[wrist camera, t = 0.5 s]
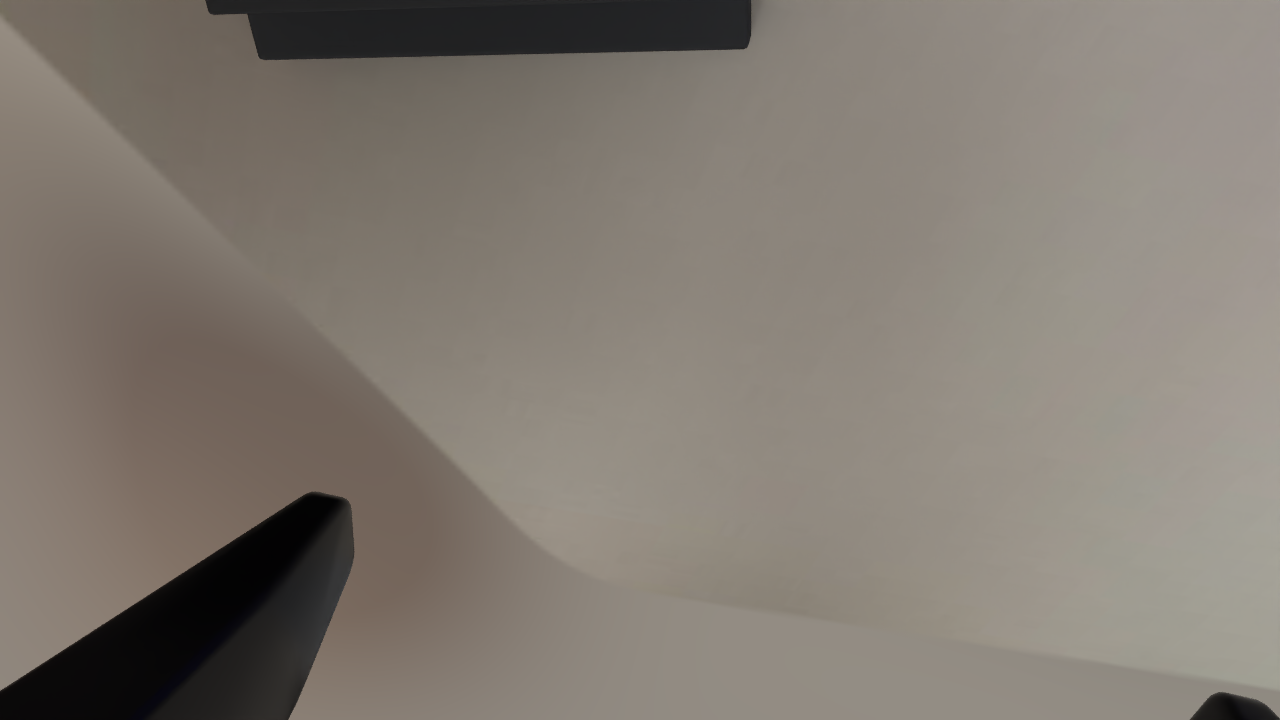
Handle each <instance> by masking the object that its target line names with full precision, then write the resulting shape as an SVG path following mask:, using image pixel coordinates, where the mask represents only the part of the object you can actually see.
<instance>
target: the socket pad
mask: <svg viewBox="0 0 1280 720" xmlns="http://www.w3.org/2000/svg"><path fill="white" fill-rule="evenodd" d="M205 1H206V4H207V8H208V11H209V13H210V14H213V15H219V14H248V18H249V22H250V26H251V30H252V34H253V37H254V41H255V45H256V49H257V53H258V56H259V58H260V59H263V60H289V59H333V58H377V57H422V56H466V55H510V54H555V53H599V52H643V51H688V50H732V49H745V48H747V47H748V44H749V41H750V37H751V0H205Z"/></svg>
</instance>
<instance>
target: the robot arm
mask: <svg viewBox="0 0 1280 720" xmlns="http://www.w3.org/2000/svg"><path fill="white" fill-rule="evenodd" d="M352 525H353V524H352V511H351V505H350V503H349V501H348V500H347V499H345V498H343V497H338V496H334V495H329V494H325V493H321V492H310V493H307V494H305V495H303V496H302V497H300V498H298V499H297V500H295V501H294V502H292V503H291V504H289V505H288V506H286V507H285V508H283V509H282V510H280V511H278V512H277V513H275V514H274V515H272V516H271V517H269V518H267V519H266V520H264V521H263V522H261V523H260V524H258V525H257V526H255V527H254V528H252V529H251V530H249V531H247V532H246V533H244V534H243V535H241V536H240V537H238V538H236V539H235V540H233V541H232V542H230V543H229V544H227V545H226V546H224V547H223V548H221V549H219V550H218V551H216V552H215V553H213V554H212V555H210V556H209V557H207V558H206V559H204V560H202V561H201V562H200V563H198V564H196V565H195V566H193V567H192V568H190V569H188V570H187V571H185V572H184V573H182V574H181V575H179V576H178V577H176V578H174V579H173V580H171V581H170V582H168V583H167V584H165V585H164V586H162V587H160V588H159V589H157V590H156V591H154V592H153V593H151V594H150V595H148V596H147V597H145V598H144V599H142V600H141V601H139V602H137V603H136V604H134V605H133V606H131V607H130V608H128V609H127V610H125V611H123V612H122V613H120V614H119V615H117V616H116V617H114V618H112V619H111V620H109V621H108V622H106V623H105V624H103V625H102V626H100V627H98V628H97V629H95V630H94V631H92V632H91V633H90V634H88V635H86V636H85V637H83V638H81V639H80V640H78V641H77V642H75V643H74V644H72V645H71V646H69V647H67V648H66V649H64V650H63V651H61V652H60V653H58V654H57V655H55V656H54V657H52V658H50V659H49V660H47V661H46V662H44V663H43V664H41V665H40V666H38V667H37V668H35V669H34V670H32V671H30V672H29V673H27V674H26V675H24V676H23V677H21V678H20V679H18V680H17V681H15V682H13V683H12V684H10V685H9V686H7V687H6V688H4V689H2V690H1V691H0V720H288V719H289V717H290V715H291V713H292V711H293V709H294V707H295V705H296V703H297V701H298V698H299V696H300V694H301V691H302V689H303V687H304V684H305V682H306V680H307V677H308V675H309V672H310V670H311V668H312V665H313V662H314V660H315V658H316V655H317V653H318V650H319V648H320V645H321V643H322V640H323V638H324V635H325V633H326V631H327V628H328V626H329V623H330V621H331V618H332V615H333V613H334V611H335V608H336V606H337V603H338V601H339V598H340V596H341V593H342V591H343V589H344V586H345V584H346V581H347V579H348V576H349V574H350V571H351V567H352V564H353V559H354V538H353V526H352ZM1190 720H1280V718H1279V717H1278V716H1277V715H1276V714H1275V713H1274V712H1273V711H1272V710H1271V709H1270V708H1269V707H1268V706H1267V705H1265V704H1263V703H1262V702H1260V701H1258V700H1255V699H1252V698H1247V697H1243V696H1238V695H1234V694H1229V693H1224V692H1219V693H1216V694H1213V695H1211V696H1210V697H1209V698H1208V699H1207V700H1206V701H1205V702H1204V704H1203V705H1202V706H1201V707H1200V708H1199V710H1198V711H1197V712H1196V713H1195V714H1194V715H1193V717H1192V718H1191V719H1190Z"/></svg>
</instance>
